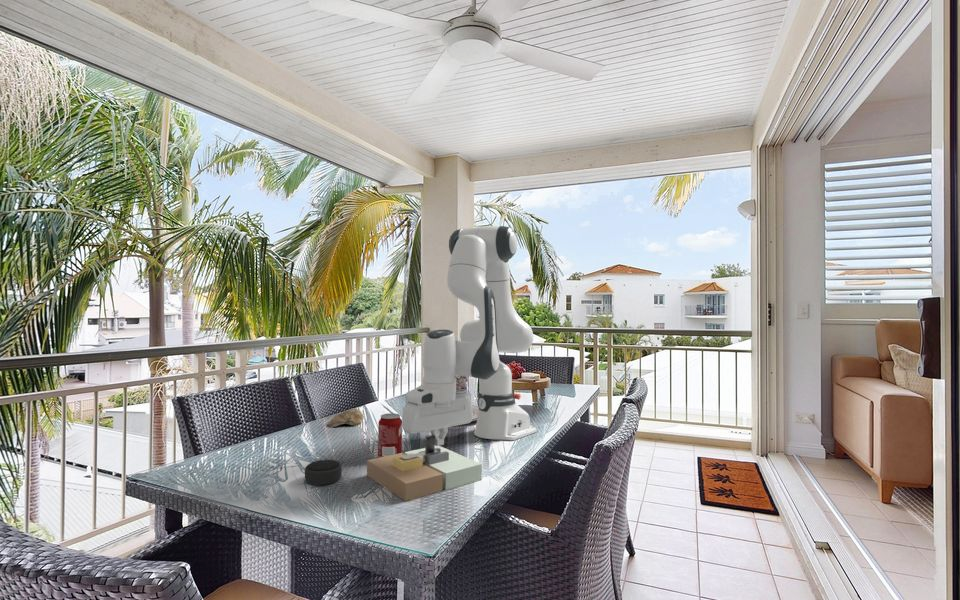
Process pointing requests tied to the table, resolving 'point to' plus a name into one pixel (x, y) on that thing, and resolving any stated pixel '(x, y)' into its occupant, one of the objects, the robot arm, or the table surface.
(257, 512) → the table surface
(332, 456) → the table surface
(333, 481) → the smart speaker
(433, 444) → the bolt
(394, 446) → the soda can
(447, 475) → the door and jamb
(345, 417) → the oyster shell
